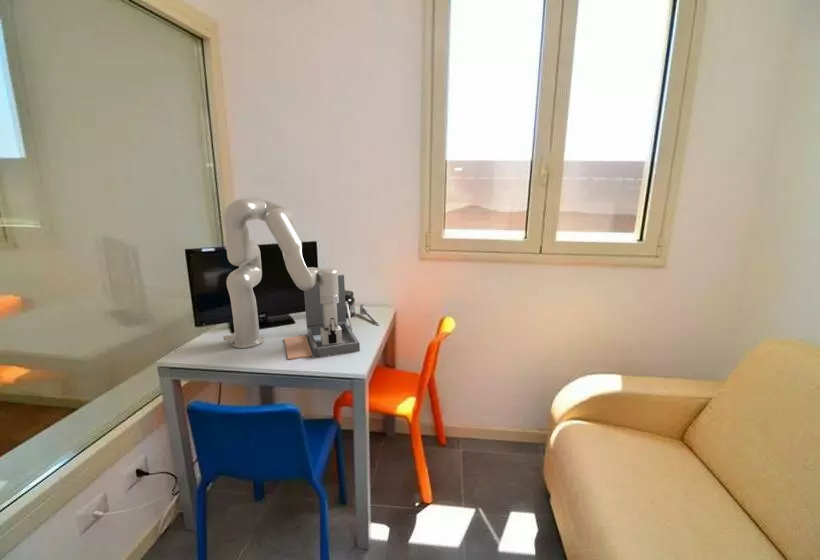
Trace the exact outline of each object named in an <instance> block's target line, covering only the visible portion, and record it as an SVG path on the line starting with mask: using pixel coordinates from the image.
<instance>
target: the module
mask: <svg viewBox="0 0 820 560" xmlns="http://www.w3.org/2000/svg"><path fill="white" fill-rule="evenodd" d="M331 330H332V329H330V331H331ZM320 331H321V334H320V342H321V345H322V347H325V346H332V345H339V344H343V333H342V332H343V331H342V329H341V327H340V326H337V327H336V338H337V343H332V344H329V339H328V334H329V329H328V328H325V327H323V328H320Z"/></svg>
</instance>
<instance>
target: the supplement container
mask: <svg viewBox="0 0 820 560" xmlns="http://www.w3.org/2000/svg"><path fill="white" fill-rule="evenodd" d="M354 296H355V294H354V291H352V290H349V289H347V290H346V289H345V302H348V306H349V312H350V317H351V318H353V317H354V316H355V315H356V305H355V302H356V298H355V297H354ZM346 319H348V313H347V308H346Z"/></svg>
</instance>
